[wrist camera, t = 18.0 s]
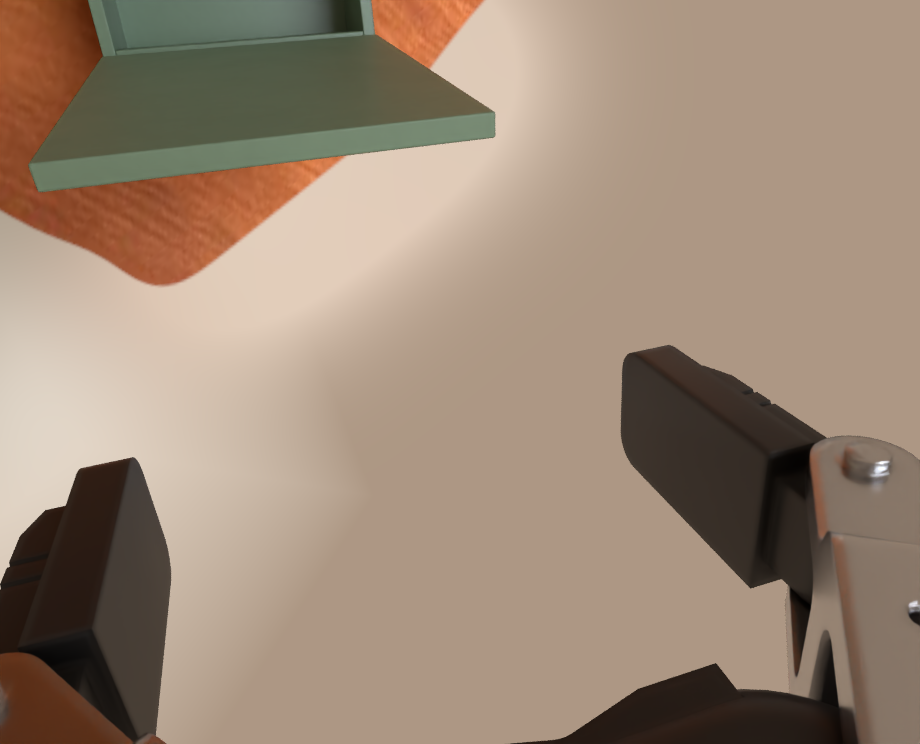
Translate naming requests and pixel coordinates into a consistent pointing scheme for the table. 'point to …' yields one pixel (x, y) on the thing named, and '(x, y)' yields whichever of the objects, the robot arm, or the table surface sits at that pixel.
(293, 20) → the chess box
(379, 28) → the table surface
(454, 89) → the box lid
